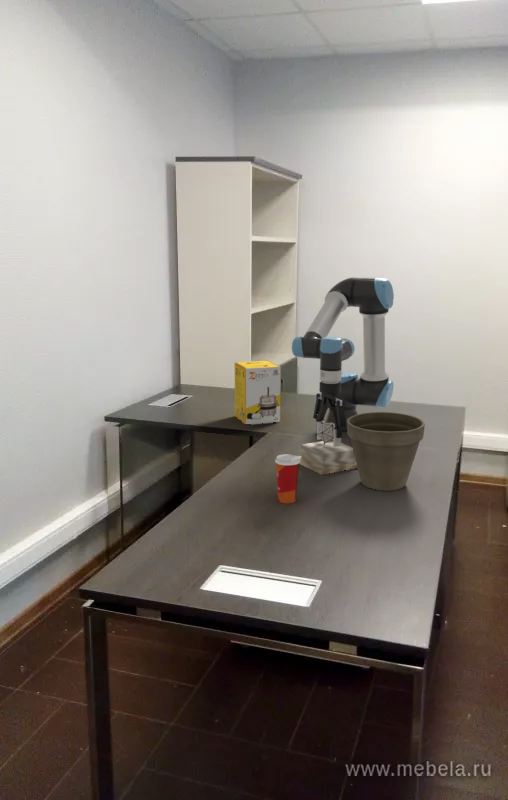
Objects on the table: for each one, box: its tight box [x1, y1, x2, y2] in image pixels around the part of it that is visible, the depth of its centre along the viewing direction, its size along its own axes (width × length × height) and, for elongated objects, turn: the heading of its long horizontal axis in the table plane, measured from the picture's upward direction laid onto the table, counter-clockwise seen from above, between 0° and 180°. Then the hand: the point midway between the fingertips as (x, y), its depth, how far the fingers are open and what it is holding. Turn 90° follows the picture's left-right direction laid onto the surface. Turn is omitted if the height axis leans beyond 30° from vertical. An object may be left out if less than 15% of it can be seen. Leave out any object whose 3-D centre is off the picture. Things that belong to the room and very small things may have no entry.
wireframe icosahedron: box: [315, 421, 335, 445], centre depth 252 cm, size 9×8×10 cm
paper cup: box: [274, 453, 300, 505], centre depth 217 cm, size 8×8×14 cm
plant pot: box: [346, 411, 426, 492], centre depth 232 cm, size 25×25×22 cm
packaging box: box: [234, 360, 282, 425], centre depth 315 cm, size 16×16×25 cm
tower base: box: [297, 440, 358, 476], centre depth 254 cm, size 18×18×6 cm
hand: (328, 442), depth 253 cm, fingers closed on wireframe icosahedron, 10 cm apart
